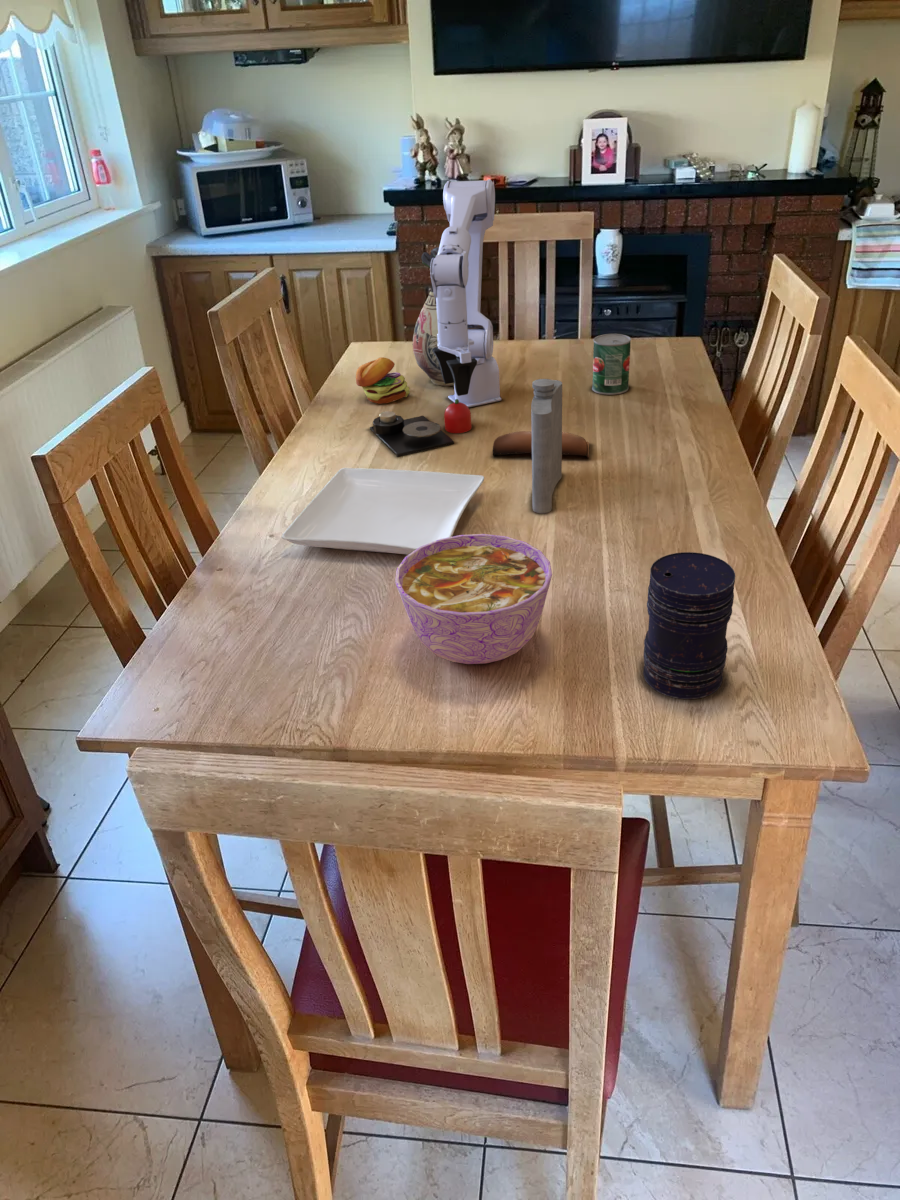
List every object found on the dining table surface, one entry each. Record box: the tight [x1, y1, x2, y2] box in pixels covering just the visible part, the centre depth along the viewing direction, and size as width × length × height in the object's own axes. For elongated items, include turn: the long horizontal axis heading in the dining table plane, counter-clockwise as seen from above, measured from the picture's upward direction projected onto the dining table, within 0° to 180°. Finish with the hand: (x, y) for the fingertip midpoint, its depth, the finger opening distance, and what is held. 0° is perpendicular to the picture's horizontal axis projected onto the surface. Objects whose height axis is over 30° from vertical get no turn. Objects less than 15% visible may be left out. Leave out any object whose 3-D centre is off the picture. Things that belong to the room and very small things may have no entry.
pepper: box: [443, 399, 472, 434], centre depth 186 cm, size 5×5×6 cm
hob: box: [369, 414, 455, 457], centre depth 185 cm, size 12×16×3 cm
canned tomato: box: [591, 333, 632, 396], centre depth 199 cm, size 8×8×11 cm
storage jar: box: [642, 551, 736, 700], centre depth 111 cm, size 10×10×15 cm
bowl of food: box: [394, 533, 553, 665], centre depth 120 cm, size 20×20×12 cm
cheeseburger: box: [355, 356, 411, 405], centre depth 203 cm, size 10×11×10 cm
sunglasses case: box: [492, 430, 590, 458], centre depth 174 cm, size 18×7×7 cm
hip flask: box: [530, 378, 563, 514], centre depth 155 cm, size 16×4×20 cm, turn 167°
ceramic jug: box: [412, 246, 478, 387], centre depth 204 cm, size 17×15×30 cm
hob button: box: [379, 410, 397, 424], centre depth 186 cm, size 3×3×2 cm
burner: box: [403, 420, 442, 437], centre depth 183 cm, size 8×8×1 cm
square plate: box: [281, 467, 485, 555], centre depth 153 cm, size 27×27×4 cm
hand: (456, 388), depth 183 cm, fingers open, 7 cm apart
